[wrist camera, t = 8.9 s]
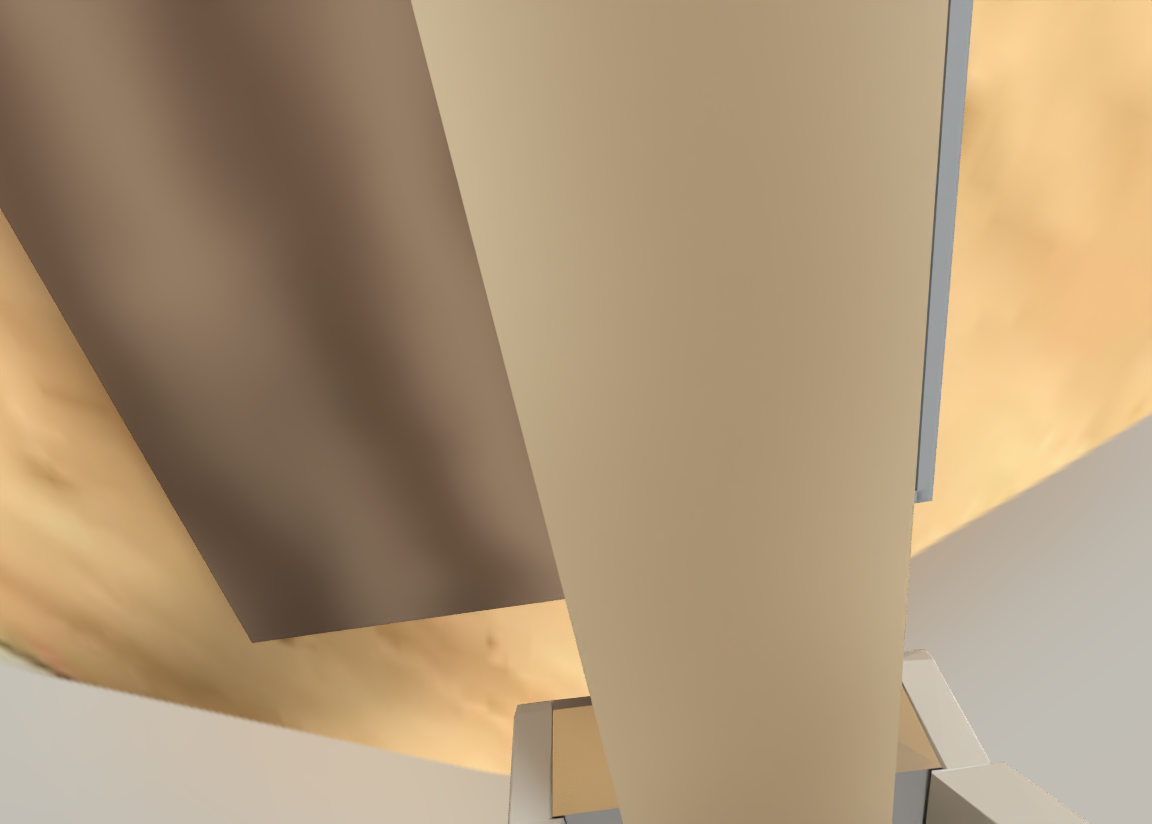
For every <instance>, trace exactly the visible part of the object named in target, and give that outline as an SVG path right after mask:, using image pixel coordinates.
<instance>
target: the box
mask: <svg viewBox="0 0 1152 824" xmlns="http://www.w3.org/2000/svg"><path fill="white" fill-rule="evenodd" d="M972 9H973V0H949V2H948V17H947V31H946V46H945V60H944V75H943V89H942V104H941V118H940V133H939V147H938V162H937V176H936V191H935V206H934V220H933V235H932V249H931V264H930V278H929V293H928V307H927V322H926V336H925V351H924V365H923V380H922V394H921V409H920V424H919V438H918V453H917V467H916V482H915V496H914V503H920V502H926V501H932V496H933V484H934V472H935V460H936V448H937V436H938V423H939V411H940V399H941V387H942V375H943V362H944V350H945V338H946V326H947V314H948V302H949V289H950V277H951V265H952V253H953V241H954V229H955V216H956V204H957V192H958V180H959V168H960V156H961V143H962V131H963V119H964V107H965V95H966V83H967V70H968V58H969V46H970V34H971V22H972Z"/></svg>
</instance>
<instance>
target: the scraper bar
mask: <svg viewBox="0 0 1152 824" xmlns="http://www.w3.org/2000/svg"><path fill="white" fill-rule="evenodd" d="M948 2H949V0H411V3H412V7H413V11H414V15H415V18H416V22H417V26H418V30H419V34H420V38H421V42H422V46H423V49H424V53H425V57H426V61H427V65H428V69H429V73H430V77H431V81H432V84H433V88H434V92H435V96H436V100H437V104H438V108H439V112H440V115H441V119H442V123H443V127H444V131H445V135H446V139H447V143H448V146H449V150H450V154H451V158H452V162H453V166H454V170H455V174H456V177H457V181H458V185H459V189H460V193H461V197H462V201H463V205H464V208H465V212H466V216H467V220H468V224H469V228H470V232H471V236H472V240H473V243H474V247H475V251H476V255H477V259H478V263H479V267H480V271H481V274H482V278H483V282H484V286H485V290H486V294H487V298H488V302H489V305H490V309H491V313H492V317H493V321H494V325H495V329H496V333H497V336H498V340H499V344H500V348H501V352H502V356H503V360H504V364H505V367H506V371H507V375H508V379H509V383H510V387H511V391H512V395H513V399H514V402H515V406H516V410H517V414H518V418H519V422H520V426H521V430H522V433H523V437H524V441H525V445H526V449H527V453H528V457H529V461H530V464H531V468H532V472H533V476H534V480H535V484H536V488H537V492H538V495H539V499H540V503H541V507H542V511H543V515H544V519H545V523H546V527H547V530H548V534H549V538H550V542H551V546H552V550H553V554H554V558H555V561H556V565H557V569H558V573H559V577H560V581H561V585H562V589H563V592H564V596H565V600H566V604H567V608H568V612H569V616H570V620H571V623H572V627H573V631H574V635H575V639H576V643H577V647H578V651H579V654H580V658H581V662H582V666H583V670H584V674H585V678H586V682H587V686H588V689H589V693H590V697H591V701H592V705H593V709H594V713H595V717H596V720H597V724H598V728H599V732H600V736H601V740H602V744H603V748H604V751H605V755H606V759H607V763H608V767H609V771H610V775H611V779H612V782H613V786H614V790H615V794H616V798H617V802H618V806H619V810H620V814H621V817H622V821H623V824H892V816H893V801H894V787H895V772H896V758H897V743H898V729H899V714H900V700H901V685H902V671H903V656H904V640H905V627H906V612H907V598H908V583H909V569H910V568H909V567H910V554H911V540H912V525H913V511H914V496H915V482H916V467H917V453H918V438H919V424H920V409H921V394H922V380H923V365H924V351H925V336H926V322H927V307H928V293H929V278H930V264H931V249H932V235H933V220H934V206H935V191H936V176H937V162H938V147H939V133H940V118H941V104H942V89H943V75H944V60H945V46H946V31H947V17H948Z"/></svg>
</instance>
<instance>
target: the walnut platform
mask: <svg viewBox="0 0 1152 824" xmlns="http://www.w3.org/2000/svg"><path fill="white" fill-rule="evenodd" d="M0 208H1V210H2V212H3V213H4V215H5V217H6V218H7V220H8V222H9V224H10V225H11V227H12V229H13V231H14V232H15V234H16V236H17V237H18V239H19V241H20V243H21V244H22V246H23V248H24V250H25V251H26V253H27V255H28V256H29V258H30V260H31V262H32V263H33V265H34V267H35V269H36V270H37V272H38V274H39V275H40V277H41V279H42V281H43V282H44V284H45V286H46V288H47V289H48V291H49V293H50V294H51V296H52V298H53V300H54V301H55V303H56V305H57V307H58V308H59V310H60V312H61V313H62V315H63V317H64V319H65V320H66V322H67V324H68V326H69V327H70V329H71V331H72V332H73V334H74V336H75V338H76V339H77V341H78V343H79V345H80V346H81V348H82V350H83V351H84V353H85V355H86V357H87V358H88V360H89V362H90V364H91V365H92V367H93V369H94V370H95V372H96V374H97V376H98V377H99V379H100V381H101V383H102V384H103V386H104V388H105V389H106V391H107V393H108V395H109V396H110V398H111V400H112V402H113V403H114V405H115V407H116V408H117V410H118V412H119V414H120V415H121V417H122V419H123V421H124V422H125V424H126V426H127V427H128V429H129V431H130V433H131V434H132V436H133V438H134V440H135V441H136V443H137V445H138V446H139V448H140V450H141V452H142V453H143V455H144V457H145V459H146V460H147V462H148V464H149V465H150V467H151V469H152V471H153V472H154V474H155V476H156V478H157V479H158V481H159V483H160V484H161V486H162V488H163V490H164V491H165V493H166V495H167V497H168V498H169V500H170V502H171V503H172V505H173V507H174V509H175V510H176V512H177V514H178V516H179V517H180V519H181V521H182V522H183V524H184V526H185V528H186V529H187V531H188V533H189V535H190V536H191V538H192V540H193V541H194V543H195V545H196V547H197V548H198V550H199V552H200V554H201V555H202V557H203V559H204V560H205V562H206V564H207V566H208V567H209V569H210V571H211V573H212V574H213V576H214V578H215V580H216V581H217V583H218V585H219V586H220V588H221V590H222V592H223V593H224V595H225V597H226V599H227V600H228V602H229V604H230V605H231V607H232V609H233V611H234V612H235V614H236V616H237V618H238V619H239V621H240V623H241V624H242V626H243V628H244V630H245V631H246V633H247V635H248V637H249V638H250V640H251V642H252V643H255V642H262V641H269V640H276V639H283V638H290V637H297V636H305V635H312V634H319V633H326V632H333V631H340V630H347V629H354V628H361V627H369V626H376V625H383V624H390V623H397V622H404V621H411V620H418V619H425V618H433V617H440V616H447V615H454V614H461V613H468V612H475V611H482V610H489V609H497V608H504V607H511V606H518V605H525V604H532V603H539V602H546V601H553V600H561V599H565V596H564V592H563V589H562V585H561V581H560V577H559V573H558V569H557V565H556V561H555V558H554V554H553V550H552V546H551V542H550V538H549V534H548V530H547V527H546V523H545V519H544V515H543V511H542V507H541V503H540V499H539V495H538V492H537V488H536V484H535V480H534V476H533V472H532V468H531V464H530V461H529V457H528V453H527V449H526V445H525V441H524V437H523V433H522V430H521V426H520V422H519V418H518V414H517V410H516V406H515V402H514V399H513V395H512V391H511V387H510V383H509V379H508V375H507V371H506V367H505V364H504V360H503V356H502V352H501V348H500V344H499V340H498V336H497V333H496V329H495V325H494V321H493V317H492V313H491V309H490V305H489V302H488V298H487V294H486V290H485V286H484V282H483V278H482V274H481V271H480V267H479V263H478V259H477V255H476V251H475V247H474V243H473V240H472V236H471V232H470V228H469V224H468V220H467V216H466V212H465V208H464V205H463V201H462V197H461V193H460V189H459V185H458V181H457V177H456V174H455V170H454V166H453V162H452V158H451V154H450V150H449V146H448V143H447V139H446V135H445V131H444V127H443V123H442V119H441V115H440V112H439V108H438V104H437V100H436V96H435V92H434V88H433V84H432V81H431V77H430V73H429V69H428V65H427V61H426V57H425V53H424V49H423V46H422V42H421V38H420V34H419V30H418V26H417V22H416V18H415V15H414V11H413V7H412V3H411V0H0Z"/></svg>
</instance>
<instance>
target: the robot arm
mask: <svg viewBox="0 0 1152 824" xmlns="http://www.w3.org/2000/svg"><path fill="white" fill-rule="evenodd" d="M508 824H623V821H622V817H621V814H620V810H619V806H618V802H617V798H616V794H615V790H614V786H613V782H612V779H611V775H610V771H609V767H608V763H607V759H606V755H605V751H604V748H603V744H602V740H601V736H600V732H599V728H598V724H597V720H596V717H595V713H594V709H593V705H592V701H591V697H590V696H588V697H579V698H570V699H561V700H551V701H544V702H536V703H529V704H521V705H518V706H517V709H516V713H515V716H514V728H513V745H512V762H511V779H510V796H509V813H508ZM892 824H1090V823H1089V822H1088V821H1086V820H1085V819H1084V818H1082V817H1081V816H1079V815H1078V814H1076V813H1075V812H1074V811H1072V810H1071V809H1069V808H1068V807H1067V806H1065V805H1064V804H1062V803H1061V802H1060V801H1058V800H1056V799H1055V798H1054V797H1052V796H1051V795H1050V794H1048V793H1047V792H1045V791H1044V790H1043V789H1041V788H1040V787H1038V786H1037V785H1036V784H1034V783H1033V782H1031V781H1030V780H1028V779H1027V778H1026V777H1024V776H1023V775H1021V774H1020V773H1019V772H1017V771H1016V770H1014V769H1013V768H1011V767H1010V766H1009V765H1007V764H1006V763H1005V762H997V763H991V762H990V760H989V758H988V757H987V755H986V753H985V751H984V750H983V748H982V746H981V744H980V742H979V740H978V738H977V737H976V735H975V733H974V732H973V730H972V728H971V726H970V724H969V723H968V720H967V719H966V717H965V715H964V713H963V712H962V710H961V708H960V706H959V704H958V702H957V701H956V699H955V697H954V695H953V694H952V692H951V690H950V688H949V686H948V684H947V683H946V681H945V679H944V678H943V675H942V674H941V672H940V670H939V668H938V666H937V665H936V663H935V661H934V659H933V657H932V656H931V655H930V654H929V653H928V652H926V650H924V649H921V650H913V651H906V652H904V656H903V671H902V685H901V700H900V714H899V729H898V743H897V758H896V772H895V787H894V801H893V816H892Z"/></svg>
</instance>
